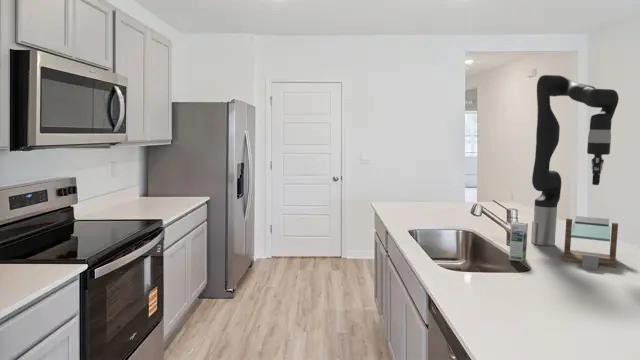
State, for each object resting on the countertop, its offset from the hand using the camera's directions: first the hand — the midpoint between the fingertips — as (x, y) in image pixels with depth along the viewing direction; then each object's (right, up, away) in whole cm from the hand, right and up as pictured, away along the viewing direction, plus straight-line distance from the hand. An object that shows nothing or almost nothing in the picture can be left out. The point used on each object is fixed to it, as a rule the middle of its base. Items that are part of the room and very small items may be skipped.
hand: (595, 184), depth 182 cm
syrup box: (-29, -30, +2) cm, 42 cm away
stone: (-7, -26, -8) cm, 28 cm away
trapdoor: (+2, -21, +7) cm, 22 cm away
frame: (0, -30, +5) cm, 30 cm away
